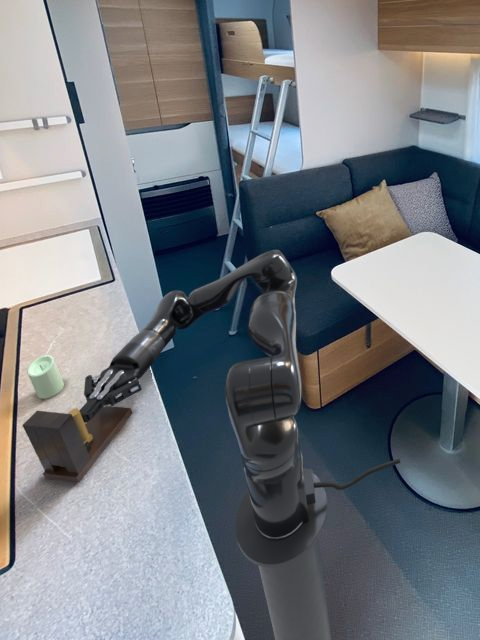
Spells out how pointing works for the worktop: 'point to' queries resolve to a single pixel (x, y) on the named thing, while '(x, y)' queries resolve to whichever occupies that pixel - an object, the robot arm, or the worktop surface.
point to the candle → (45, 377)
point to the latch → (72, 440)
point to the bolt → (80, 426)
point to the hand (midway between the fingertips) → (81, 419)
